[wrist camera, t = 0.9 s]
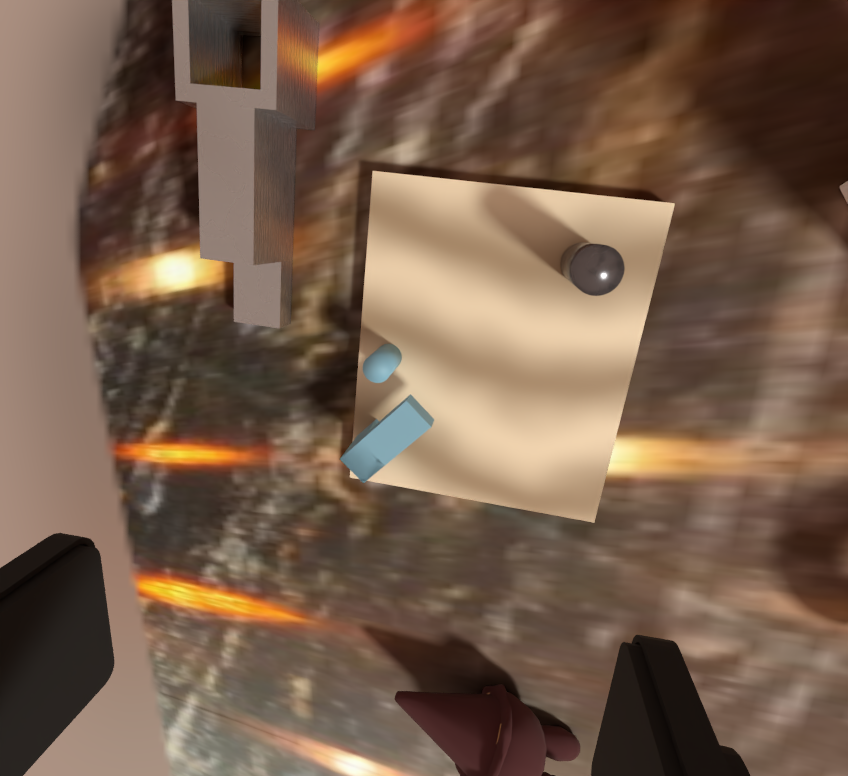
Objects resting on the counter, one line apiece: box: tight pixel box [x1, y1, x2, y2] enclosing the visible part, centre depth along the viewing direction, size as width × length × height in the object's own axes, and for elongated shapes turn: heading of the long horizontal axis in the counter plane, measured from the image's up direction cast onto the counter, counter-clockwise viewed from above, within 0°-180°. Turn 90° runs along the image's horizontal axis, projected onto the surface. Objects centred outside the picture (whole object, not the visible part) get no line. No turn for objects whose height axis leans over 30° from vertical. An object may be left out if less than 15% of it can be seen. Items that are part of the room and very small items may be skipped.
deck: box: [350, 171, 675, 522], centre depth 30 cm, size 19×16×1 cm
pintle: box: [560, 242, 625, 296], centre depth 25 cm, size 2×2×6 cm
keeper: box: [340, 344, 434, 483], centre depth 30 cm, size 6×5×5 cm
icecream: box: [395, 684, 580, 776], centre depth 36 cm, size 7×7×15 cm
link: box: [172, 0, 319, 328], centre depth 28 cm, size 17×5×5 cm, turn 173°
